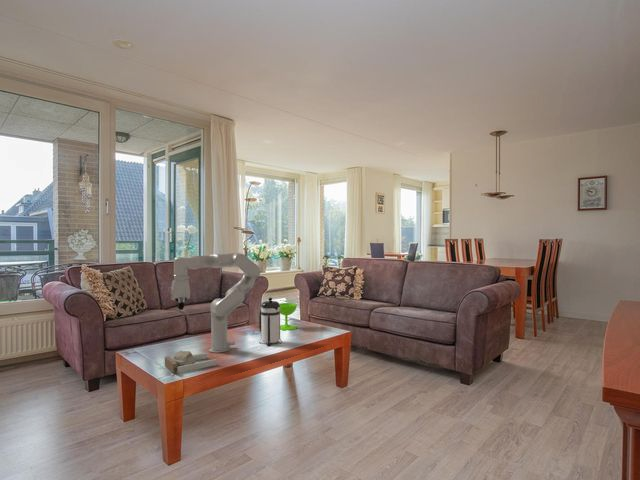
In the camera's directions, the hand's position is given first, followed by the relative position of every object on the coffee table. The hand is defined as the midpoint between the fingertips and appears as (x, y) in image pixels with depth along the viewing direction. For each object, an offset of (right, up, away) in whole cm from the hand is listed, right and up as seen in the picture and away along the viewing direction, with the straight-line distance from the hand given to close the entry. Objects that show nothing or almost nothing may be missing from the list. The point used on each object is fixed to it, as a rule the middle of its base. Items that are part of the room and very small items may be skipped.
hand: (180, 309), depth 223 cm
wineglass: (+56, -27, +67) cm, 91 cm away
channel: (+12, -27, -18) cm, 35 cm away
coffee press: (+49, -27, +25) cm, 61 cm away
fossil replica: (+9, -27, -21) cm, 36 cm away
